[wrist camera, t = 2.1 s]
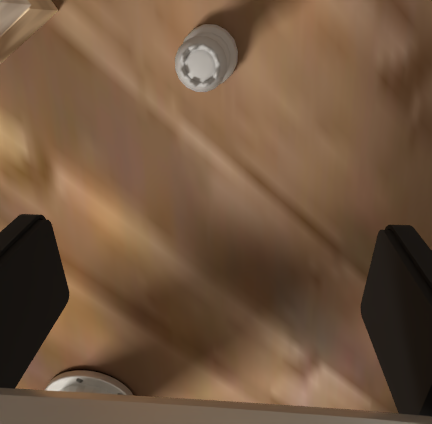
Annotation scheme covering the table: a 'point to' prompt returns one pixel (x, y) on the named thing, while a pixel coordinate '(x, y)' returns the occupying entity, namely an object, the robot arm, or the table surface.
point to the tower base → (26, 26)
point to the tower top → (11, 12)
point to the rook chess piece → (206, 58)
